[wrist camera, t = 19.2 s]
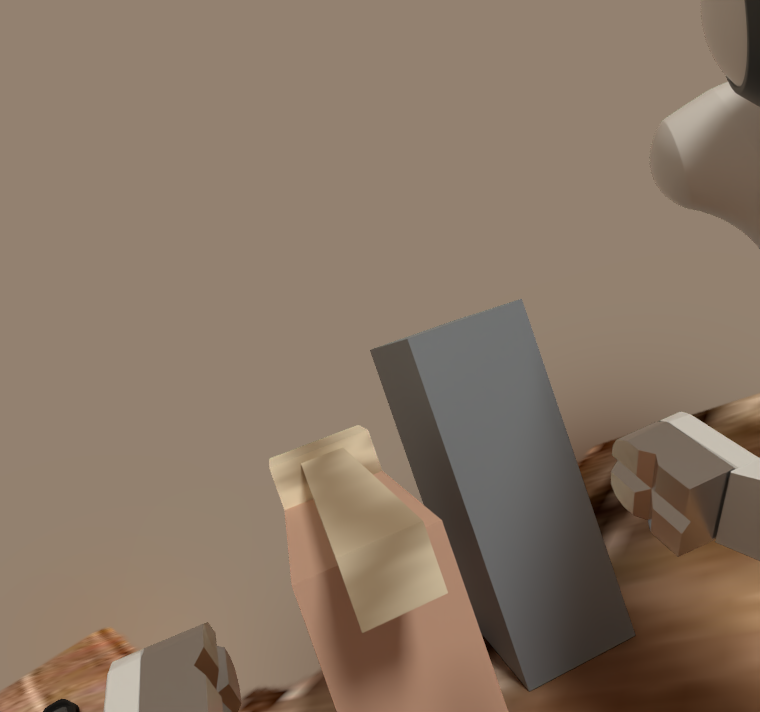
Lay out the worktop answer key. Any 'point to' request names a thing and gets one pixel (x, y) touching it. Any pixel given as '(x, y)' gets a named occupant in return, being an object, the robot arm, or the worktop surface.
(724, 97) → the robot arm
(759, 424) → the worktop surface
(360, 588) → the T-bar
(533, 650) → the grey upright block
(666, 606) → the worktop surface
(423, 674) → the tan upright block
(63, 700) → the electric trimmer
